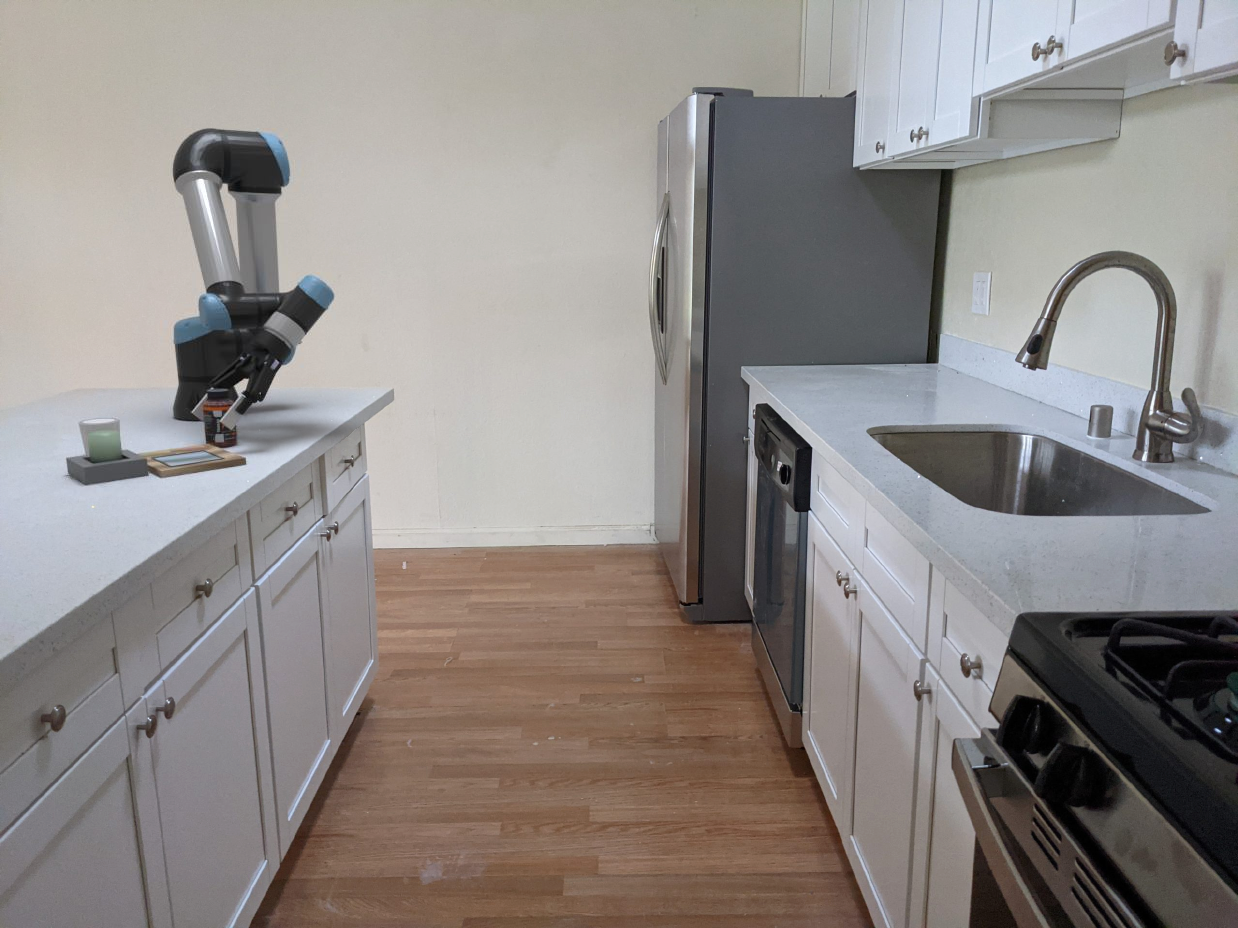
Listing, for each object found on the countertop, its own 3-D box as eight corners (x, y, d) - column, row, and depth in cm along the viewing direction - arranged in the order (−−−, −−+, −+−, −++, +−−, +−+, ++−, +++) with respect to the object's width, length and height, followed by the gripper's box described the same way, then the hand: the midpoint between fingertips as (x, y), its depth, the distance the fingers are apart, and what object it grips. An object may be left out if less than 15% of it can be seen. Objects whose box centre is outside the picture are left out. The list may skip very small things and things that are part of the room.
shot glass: (82, 462, 172) (77, 425, 170) (83, 454, 178) (79, 418, 176) (123, 458, 175) (119, 422, 173) (123, 451, 181) (119, 416, 179)
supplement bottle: (227, 448, 184) (222, 392, 182) (199, 447, 185) (194, 391, 182) (243, 442, 190) (239, 388, 187) (216, 441, 191) (212, 387, 188)
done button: (86, 460, 162) (83, 432, 161) (117, 456, 166) (114, 429, 164) (95, 465, 159) (92, 437, 157) (126, 461, 162) (123, 433, 161)
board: (128, 461, 173) (127, 454, 172) (209, 449, 183) (208, 443, 183) (161, 477, 161) (161, 470, 161) (246, 464, 171) (245, 457, 171)
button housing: (68, 474, 163) (66, 457, 162) (128, 465, 170) (127, 449, 169) (86, 484, 156) (83, 467, 155) (148, 475, 163) (146, 458, 162)
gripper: (320, 356, 184) (253, 441, 177) (263, 347, 201) (200, 424, 194) (292, 331, 179) (223, 417, 172) (237, 324, 196) (171, 402, 189)
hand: (210, 421), depth 183 cm, fingers open, 13 cm apart
